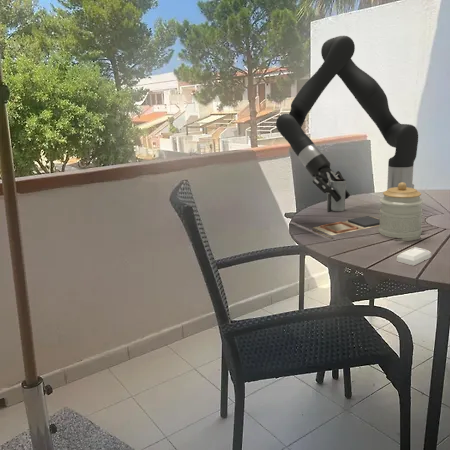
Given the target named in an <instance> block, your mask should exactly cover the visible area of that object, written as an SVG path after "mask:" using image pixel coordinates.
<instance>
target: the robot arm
mask: <svg viewBox="0 0 450 450" xmlns="http://www.w3.org/2000/svg"><path fill="white" fill-rule="evenodd" d="M355 50H356V47H355V42H354V40H353V38H351V37H350V36H348V35H339V36H335V37H331V38H329V39H327V40H326V41H325V42H324V43H323V44H322V46H321V51H320V54H321V58H322V60H323V62H322V64H320V67H319V68H318V69H317V71H316V72H315V73H313V74H312V76H311V77H309V79H308V80H307V81H306V82H305V83H304V84H303V85H302V87H301V88H300V90H299V91H298V93H297V94H296V95H295V96H294V99H293V100H292V102H291V103H290V111H289V112H288V113H283V114H280V115H279V116H278V117H277V119H276V121H275V126H276V130H277V131H278V133H280V136H282V137H283V138H284V139H285V140H286V142H288V144H289V146H290V148H291V149H292V151H293V152H294V153H295V155H296V156H297V157H298V160H300V163H301V164H302V165H303V166H304V168H305V169H306V170H307V171H308V173H309V174H310V175H311V177H312V178H314V179H313V180H312V183H313V184H314V185H315V186H317V188H318V189H319V190H320V191H322V193H324V194H326V193H328V194H330V195H331V196H332V197H333V199H334V200H335V201H336V202H338V201H339V200H341V196H340V195H339V194H338V192H337V191H336V190H334V187H333V185H332V184H333V182H332V180H333V179H345V178H344V176H343V175H342V173H341V171H339V170H337V171H336V172H335V171H334V170H333V169H331V162H330V161H329V159H328V158H327V157H326V156H325V154H324V153H323V151H322V150H320V148H319V147H318V146H316V144H315V143H314V142H313V140H312V139H311V138H310V136H309V135H307V134H306V133H305V131H304V130H303V128H302V127H303V125H304V123H305V121H306V118H307V116H308V114H309V113H310V111H311V110H312V108H313V106H315V104H316V103H317V101H318V99H319V98H320V96H321V95H322V93H323V92H324V91H325V89H327V87H328V85H329V84H330V83H331V82H332V80H333V79H334V78H335V77H336V75H337V76H338V77H339V78H340V80H341V81H342V83H343V84H344V85H345V87H346V88H347V89H348V90H349V92H350V93H351V94H352V96H353V97H354V99H355V100H356V101H357V102H358V104H359V105H360V107H361V108H362V109H363V110H364V112H365V113H366V114H367V115H368V117H369V119H371V121H372V122H373V123H374V124H375V125H376V127H377V128H378V130H379V132H380V134H381V135H382V137H383V138H384V141H386V143H387V144H388V145H389V147H392V148H395V152H394V155H393V156H392V157H390V158H389V159H388V167H387V183H386V184H387V186H386V187H387V188H386V191H387V190H388V189H389V188H394V187H398V184H399V183H401V182H404V183H406V185H407V187H408V188H414V189H415V185H414V184H413V183H414V182H413V179H414V164H415V163H414V162H415V161H416V158H417V154H418V147H419V146H418V144H419V131H418V129H417V127H416V126H415V125H413V124H407V123H401V122H399V121H398V120H397V118H396V117H395V116H394V115H393V114H392V112H391V110H390V106H389V100H388V97H387V95H386V93H385V91H384V89H383V88H382V87H381V85H380V84H379V82H378V81H377V80H376V79H375V78H373V76H371V75H370V74H368V73H367V72H366V71H364V70H362V68H360V67H359V66H358V65H357V64H356V63H355V62H354V61H353V59H352V57H353V56H354V54H355ZM350 196H351V194H350V193H349V191H348V190H347V189H346V193H345V200H347V199H349V197H350Z"/></svg>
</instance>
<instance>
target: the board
mask: <svg viewBox="0 0 450 450" xmlns="http://www.w3.org/2000/svg"><path fill="white" fill-rule="evenodd" d="M372 217H373V218H376V219H379V220H380V218H378V217H375V216H372ZM376 227H379V225H376V226H371V227H366V228H364V227H361V226H359V225H356V224H353V223H350V222H348V220H346V221H337V222H330V223H326V224H321V225H319V226H314V227H312V229H311V230H312V232H314V233H317V234H319V235H322V236H324V237H326V238H329V239H331V240H332V239H333V240H334V239H335V237H332V236H337V235H340V234H346V233H351V232H356V231H362V230H366V229H371V228H376Z"/></svg>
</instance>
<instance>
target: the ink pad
mask: <svg viewBox="0 0 450 450" xmlns="http://www.w3.org/2000/svg"><path fill="white" fill-rule="evenodd" d="M373 217H374V216H370V215H366V216H362V217H354V218H351V219H347V221H348V222H350V223H353V224H356V225H359V226H361V227H364V228H366V227H371V226H376V225H379V224H380V220H379V219H380V218H378V219H376V218H377V217H375V218H373Z"/></svg>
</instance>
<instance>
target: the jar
mask: <svg viewBox="0 0 450 450" xmlns="http://www.w3.org/2000/svg"><path fill="white" fill-rule="evenodd" d="M382 195H383V197H381V198H380V199H379V201H380V203H381V205H380V206H381V207H380V209H379V219H380V224H379V226H378V233H379V234H381V235H382V236H385V237H388V238H394V239H395V240H394V241H397V242H411V241H416V240H419V239H420V238H421V236H422V231H423V230H422V223H423V222H422V221H423V220H422V219H423V213H424V210H423V209H422V205H423V204H424V199H422V198H421V195H422V192H420V191H418V190H417V189H416V188H415V187H414V188H408V187H407V185H406V183H404V182H401V183H399V184H398V187H394V188H389V189H388V190H387V189H386V190H384V191H383V192H382Z"/></svg>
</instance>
